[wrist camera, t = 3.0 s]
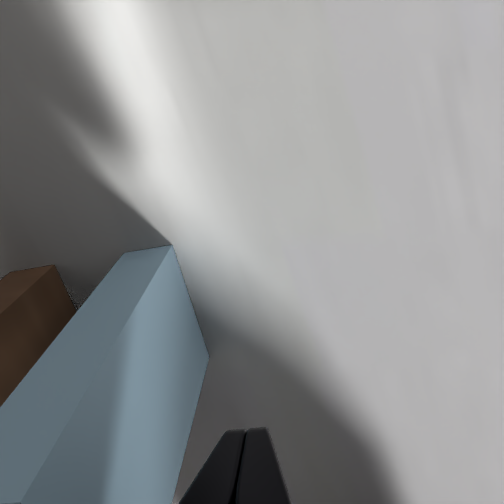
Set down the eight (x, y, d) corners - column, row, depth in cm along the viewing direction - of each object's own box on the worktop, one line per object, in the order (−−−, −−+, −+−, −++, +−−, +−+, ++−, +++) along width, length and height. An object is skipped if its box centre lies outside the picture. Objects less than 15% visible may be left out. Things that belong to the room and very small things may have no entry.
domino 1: (172, 244, 13) (20, 501, 6) (209, 357, 14) (131, 659, 7) (124, 253, 13) (-81, 508, 6) (166, 362, 15) (51, 658, 8)
